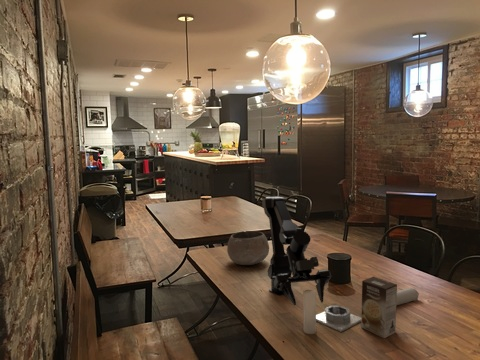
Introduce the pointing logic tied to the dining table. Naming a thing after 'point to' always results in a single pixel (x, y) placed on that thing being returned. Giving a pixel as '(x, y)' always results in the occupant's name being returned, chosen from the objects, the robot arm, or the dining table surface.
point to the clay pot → (248, 247)
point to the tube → (406, 296)
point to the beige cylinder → (309, 311)
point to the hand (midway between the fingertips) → (308, 303)
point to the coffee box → (379, 306)
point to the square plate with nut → (338, 318)
